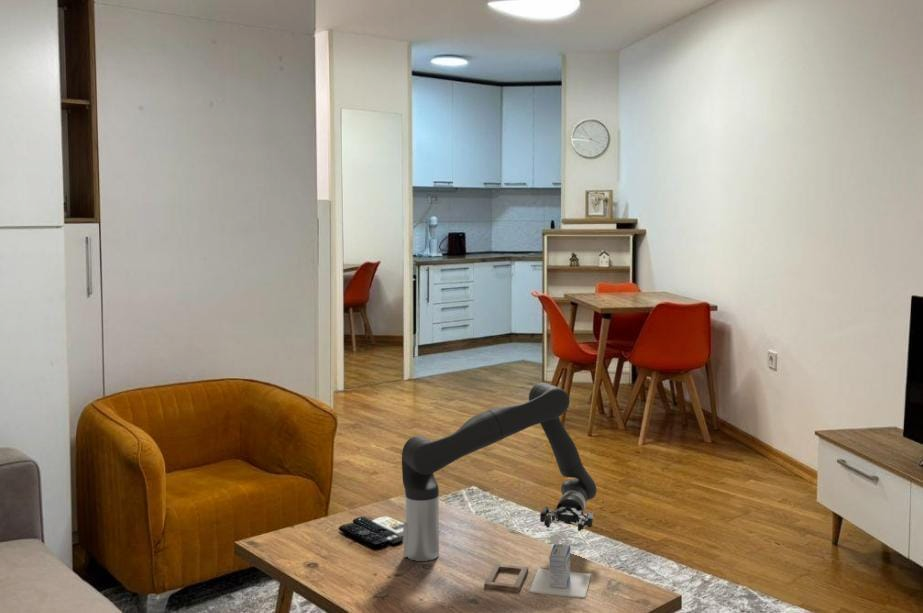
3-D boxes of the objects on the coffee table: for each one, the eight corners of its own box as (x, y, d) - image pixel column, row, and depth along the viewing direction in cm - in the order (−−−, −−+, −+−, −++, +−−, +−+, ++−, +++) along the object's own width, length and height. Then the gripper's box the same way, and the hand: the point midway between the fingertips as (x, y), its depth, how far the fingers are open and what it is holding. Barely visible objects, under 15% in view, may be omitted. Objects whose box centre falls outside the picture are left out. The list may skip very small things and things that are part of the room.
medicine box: (566, 589, 219) (567, 556, 218) (549, 587, 220) (549, 554, 219) (570, 576, 227) (570, 544, 226) (553, 574, 228) (553, 543, 227)
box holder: (484, 588, 221) (484, 583, 221) (495, 568, 233) (495, 563, 233) (519, 592, 219) (519, 587, 218) (528, 571, 231) (528, 567, 231)
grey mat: (529, 592, 218) (529, 590, 218) (538, 570, 232) (538, 568, 232) (584, 598, 215) (585, 596, 215) (591, 575, 228) (591, 574, 228)
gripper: (547, 491, 250) (537, 509, 234) (596, 496, 246) (590, 515, 231) (546, 516, 251) (536, 536, 235) (595, 522, 247) (589, 542, 232)
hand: (563, 525), depth 233 cm, fingers open, 8 cm apart
